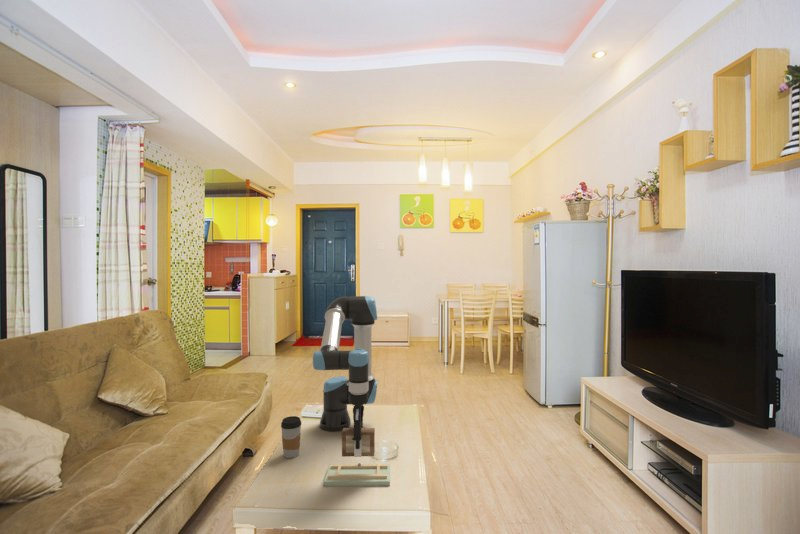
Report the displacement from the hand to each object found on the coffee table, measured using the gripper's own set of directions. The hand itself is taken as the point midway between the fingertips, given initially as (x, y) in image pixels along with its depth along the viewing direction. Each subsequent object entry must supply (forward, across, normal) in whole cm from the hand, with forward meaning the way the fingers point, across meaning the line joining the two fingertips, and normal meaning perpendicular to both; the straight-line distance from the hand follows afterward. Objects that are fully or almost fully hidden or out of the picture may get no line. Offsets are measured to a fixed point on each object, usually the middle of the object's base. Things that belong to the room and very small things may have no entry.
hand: (358, 453), depth 147 cm
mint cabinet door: (+9, 0, 0) cm, 9 cm away
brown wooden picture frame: (0, 0, 0) cm, 0 cm away
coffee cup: (+9, -17, -30) cm, 36 cm away
